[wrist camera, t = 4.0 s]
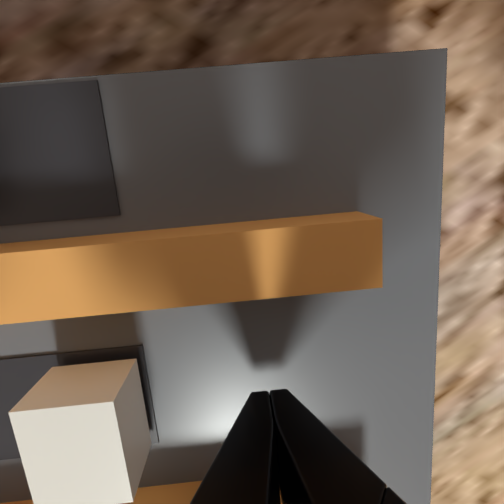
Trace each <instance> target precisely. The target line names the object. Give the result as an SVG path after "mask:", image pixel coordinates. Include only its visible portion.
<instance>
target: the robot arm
mask: <svg viewBox="0 0 504 504" xmlns="http://www.w3.org/2000/svg"><path fill="white" fill-rule="evenodd" d="M280 494H281V499H280ZM281 500H282V504H407V503H406V502H405V501H404V500H402V499H401V498H400V497H399V496H398V495H397V494H396V493H395V492H394V491H393V490H392V489H391V488H390V487H387V485H386V483H385V482H383V481H382V480H381V479H380V478H379V477H378V476H377V475H376V474H375V473H374V472H373V471H372V470H371V469H370V468H369V467H368V466H367V465H366V464H365V463H364V462H363V461H362V460H361V459H360V458H359V457H357V456H356V455H355V454H354V453H353V452H352V451H351V450H350V449H349V448H348V447H347V446H346V445H345V444H344V443H343V442H342V441H341V440H340V439H339V438H338V437H337V436H336V435H335V434H334V433H332V432H331V431H330V430H329V429H328V428H327V427H326V426H325V425H324V424H323V423H322V422H321V421H320V420H319V419H318V418H317V417H316V416H315V415H314V414H313V413H312V412H311V411H310V410H309V409H307V408H306V407H305V406H304V405H303V404H302V403H301V402H300V401H299V400H298V399H297V398H296V397H295V396H294V395H293V394H292V393H291V392H290V391H289V390H288V389H276V390H271V391H270V392H268V391H257V392H252V393H250V395H249V397H248V399H247V401H246V402H245V404H244V406H243V408H242V410H241V411H240V413H239V415H238V417H237V419H236V420H235V422H234V424H233V426H232V428H231V430H230V431H229V433H228V435H227V437H226V439H225V440H224V442H223V444H222V446H221V448H220V449H219V451H218V453H217V455H216V457H215V459H214V460H213V462H212V464H211V466H210V468H209V469H208V471H207V473H206V475H205V477H204V478H203V480H202V482H201V484H200V486H199V488H198V489H197V491H196V493H195V495H194V497H193V498H192V500H191V502H190V504H281Z"/></svg>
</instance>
